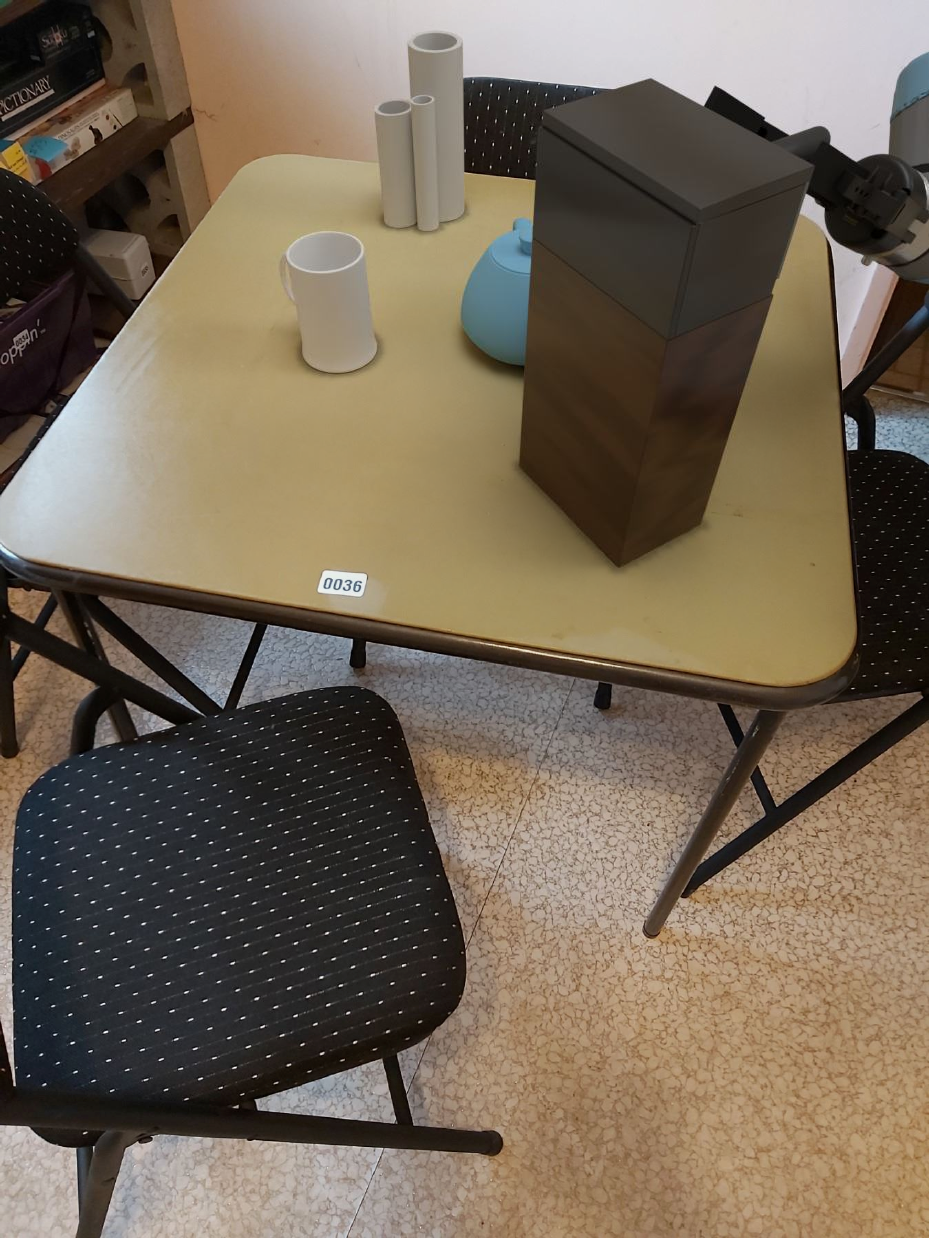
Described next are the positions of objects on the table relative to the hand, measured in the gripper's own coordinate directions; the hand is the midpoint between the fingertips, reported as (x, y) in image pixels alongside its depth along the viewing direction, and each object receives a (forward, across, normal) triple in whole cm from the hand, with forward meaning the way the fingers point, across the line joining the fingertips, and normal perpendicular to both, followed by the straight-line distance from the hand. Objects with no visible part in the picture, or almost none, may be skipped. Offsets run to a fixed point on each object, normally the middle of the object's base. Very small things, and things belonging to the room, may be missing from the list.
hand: (758, 133), depth 59 cm
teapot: (-17, +24, -26) cm, 40 cm away
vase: (-19, +55, -25) cm, 63 cm away
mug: (+2, +36, -37) cm, 52 cm away
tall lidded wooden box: (-8, 0, -31) cm, 32 cm away
